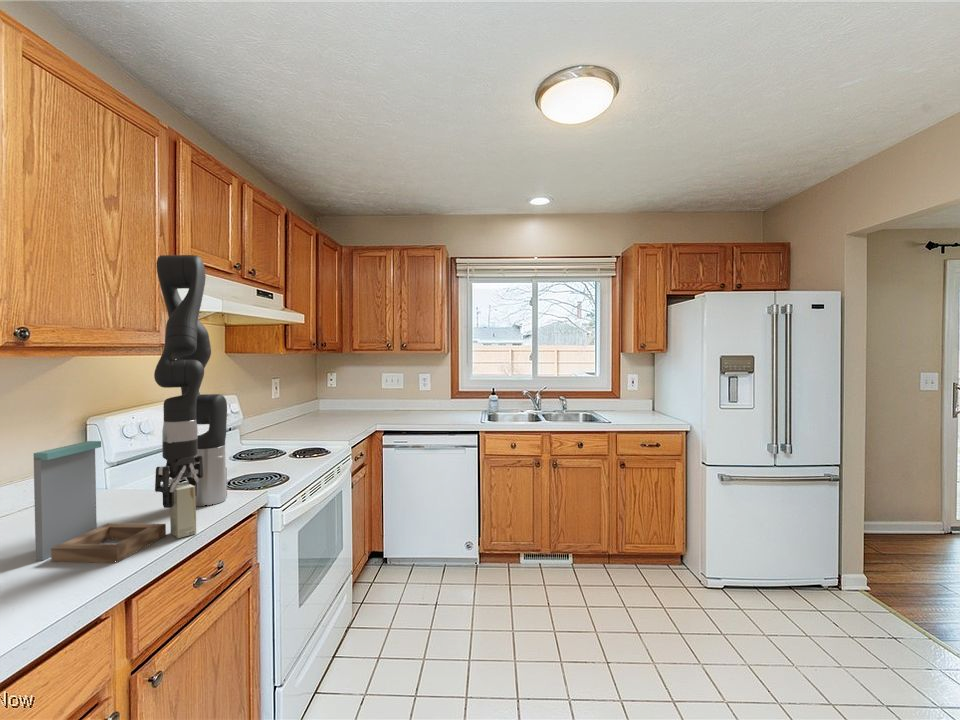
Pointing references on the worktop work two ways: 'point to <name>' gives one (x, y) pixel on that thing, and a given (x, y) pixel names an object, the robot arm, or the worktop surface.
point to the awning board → (64, 495)
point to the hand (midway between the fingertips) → (180, 502)
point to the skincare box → (183, 511)
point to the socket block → (93, 551)
